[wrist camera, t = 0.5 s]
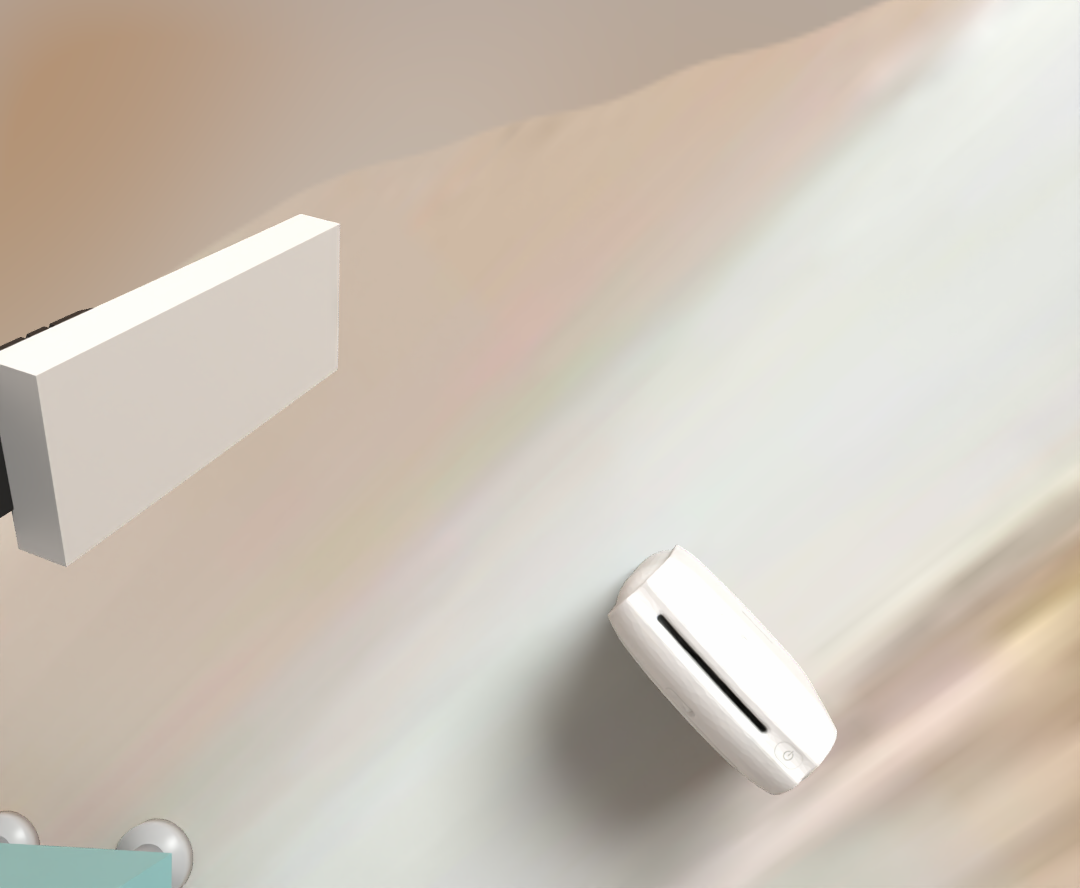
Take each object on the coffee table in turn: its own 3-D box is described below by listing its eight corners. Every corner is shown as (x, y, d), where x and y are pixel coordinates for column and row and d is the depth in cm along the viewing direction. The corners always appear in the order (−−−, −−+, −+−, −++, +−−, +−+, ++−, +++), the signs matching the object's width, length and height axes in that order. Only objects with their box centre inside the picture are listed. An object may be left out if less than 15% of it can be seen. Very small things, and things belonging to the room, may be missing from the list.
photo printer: (827, 688, 47) (865, 753, 35) (760, 748, 48) (775, 833, 36) (677, 529, 49) (664, 539, 37) (614, 588, 49) (580, 617, 37)
